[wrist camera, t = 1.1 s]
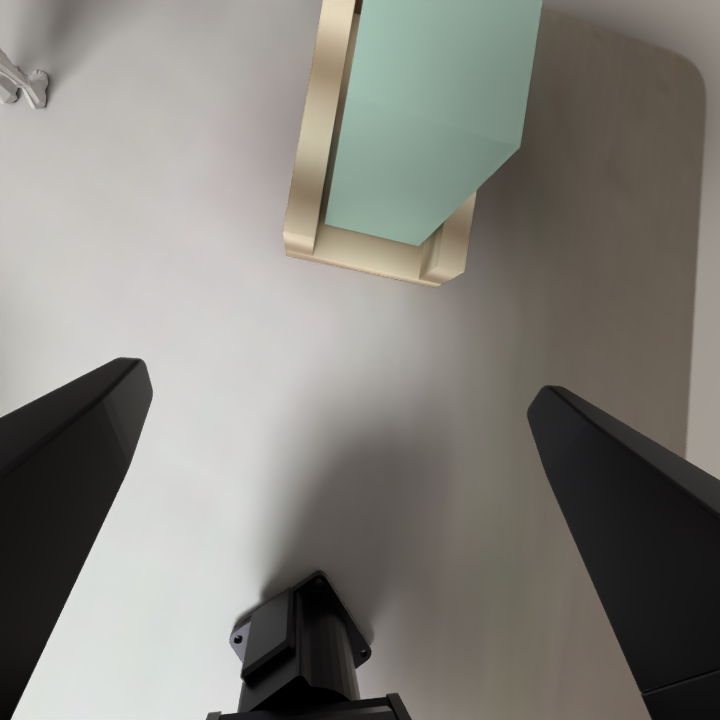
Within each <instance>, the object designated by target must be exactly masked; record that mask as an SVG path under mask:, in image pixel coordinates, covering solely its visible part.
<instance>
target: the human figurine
mask: <svg viewBox="0 0 720 720" xmlns="http://www.w3.org/2000/svg"><path fill="white" fill-rule="evenodd" d="M26 76H27V77H26ZM47 78H48V77H47V75H46V74H45V73H44V72H42V71H41V70H39V71H38V70H36V69H35V70H34V71H33V72H32V74H31V80H29V79H28V75H25V74H23V73H21V72H19V70H18V68H17V67H16V66H14V65H13V64H12V62H11V61H10V60H9V58H8V57H7V56H6V54H5V53H4V52H3V51H2V50H1V49H0V104H1V103H13V102H14V101H15V100H17V99H18V98H17V96H16V92H17V90H18V88H20V87H21V88H22V90H23V92H24V95H25V97H26V99H27V101H28V103H29V105H30V107H31V108H34V109H39V108H42V107H44V106H45V104H46V93H45V90H46V87H47V85H48V80H47ZM17 85H19V86H17Z"/></svg>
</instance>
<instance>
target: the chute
mask: <svg viewBox="0 0 720 720" xmlns="http://www.w3.org/2000/svg"><path fill="white" fill-rule="evenodd" d="M362 4H363V0H323V5H322V10H321V16H320V22H319V28H318V33H317V39H316V45H315V50H314V56H313V62H312V68H311V73H310V79H309V85H308V90H307V96H306V102H305V108H304V113H303V119H302V125H301V131H300V136H299V142H298V148H297V153H296V159H295V165H294V171H293V176H292V182H291V188H290V193H289V199H288V205H287V211H286V216H285V222H284V228H283V235H284V243H285V250H286V255H287V256H291V257H296V258H301V259H305V260H310V261H314V262H319V263H324V264H328V265H333V266H337V267H342V268H347V269H351V270H356V271H360V272H365V273H370V274H374V275H379V276H384V277H388V278H393V279H397V280H402V281H407V282H411V283H416V284H420V285H425V286H430V287H434V288H436V287H438V286H440V285H442V284H444V283H445V282H447V281H449V280H451V279H453V278H455V277H456V276H458V275H460V274H462V273H464V269H465V263H466V256H467V250H468V243H469V237H470V231H471V224H472V218H473V211H474V205H475V199H476V192H477V190H476V191H475V192H474V193H473V194H472V195H471V196H470V197H469V198H468V199H467V200H466V201H465V202H463V203H462V204H461V205H460V206H459V207H458V208H457V209H456V210H455V211H454V212H453V213H452V214H451V215H450V216H449V217H448V218H447V219H446V220H445V221H444V222H443V223H442V224H441V225H440V226H439V227H438V228H437V229H436V230H435V231H434V232H433V233H432V234H431V235H430V236H429V237H428V238H427V239H426V240H425V241H423V242H422V243H421V244H420V245H419V246H415V245H411V244H407V243H403V242H398V241H394V240H390V239H386V238H381V237H377V236H373V235H369V234H365V233H360V232H356V231H352V230H348V229H344V228H339V227H335V226H331V225H327V224H325V219H326V213H327V207H328V201H329V195H330V189H331V183H332V178H333V172H334V166H335V160H336V154H337V148H338V142H339V137H340V131H341V125H342V119H343V113H344V108H345V102H346V96H347V90H348V85H349V79H350V73H351V67H352V62H353V56H354V50H355V44H356V39H357V33H358V27H359V21H360V16H361V10H362Z"/></svg>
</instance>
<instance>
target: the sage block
mask: <svg viewBox="0 0 720 720" xmlns="http://www.w3.org/2000/svg"><path fill="white" fill-rule="evenodd" d="M541 7H542V0H363V4H362V10H361V16H360V21H359V27H358V33H357V39H356V44H355V50H354V56H353V62H352V67H351V73H350V79H349V85H348V90H347V96H346V102H345V108H344V113H343V119H342V125H341V131H340V137H339V142H338V148H337V154H336V160H335V166H334V172H333V178H332V183H331V189H330V195H329V201H328V207H327V213H326V219H325V224H327V225H331V226H335V227H339V228H344V229H348V230H352V231H356V232H360V233H365V234H369V235H373V236H377V237H381V238H386V239H390V240H394V241H398V242H403V243H407V244H411V245H415V246H419V245H420V244H421V243H422V242H423V241H425V240H426V239H427V238H428V237H429V236H430V235H431V234H432V233H433V232H434V231H435V230H436V229H437V228H438V227H439V226H440V225H441V224H442V223H443V222H444V221H445V220H446V219H447V218H448V217H449V216H450V215H451V214H452V213H453V212H454V211H455V210H456V209H457V208H458V207H459V206H460V205H461V204H462V203H463V202H465V201H466V200H467V199H468V198H469V197H470V196H471V195H472V194H473V193H474V192H475V191H476V190H477V189H478V188H479V187H480V186H481V185H482V184H483V183H484V182H485V181H486V180H487V179H488V178H489V177H490V176H491V175H492V174H493V173H494V172H495V171H496V170H497V169H498V168H499V167H500V166H501V165H502V164H504V163H505V162H506V161H507V160H508V159H509V158H510V157H511V156H512V155H513V154H514V153H515V152H516V151H517V150H518V149H519V148H520V145H521V138H522V132H523V125H524V119H525V112H526V105H527V99H528V92H529V86H530V79H531V73H532V66H533V59H534V53H535V46H536V40H537V33H538V27H539V20H540V14H541Z"/></svg>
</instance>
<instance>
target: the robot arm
mask: <svg viewBox="0 0 720 720" xmlns="http://www.w3.org/2000/svg"><path fill="white" fill-rule="evenodd" d="M152 397H153V389H152V385H151V381H150V378H149V374H148V371H147V367H146V364H145V362H144V361H143V360H142V359H140V358H127V357H120V358H117V359H114V360H112V361H110V362H108V363H107V364H105V365H103V366H101V367H99V368H97V369H95V370H93V371H91V372H89V373H87V374H85V375H83V376H81V377H79V378H77V379H75V380H73V381H71V382H69V383H67V384H65V385H64V386H62V387H60V388H58V389H56V390H54V391H52V392H50V393H48V394H46V395H44V396H42V397H40V398H38V399H36V400H34V401H32V402H30V403H28V404H26V405H24V406H23V407H21V408H19V409H17V410H15V411H13V412H11V413H9V414H7V415H5V416H3V417H1V418H0V720H11V718H12V716H13V714H14V711H15V709H16V707H17V705H18V703H19V701H20V699H21V697H22V695H23V692H24V690H25V688H26V686H27V684H28V682H29V680H30V678H31V675H32V673H33V671H34V669H35V667H36V665H37V663H38V661H39V658H40V656H41V654H42V652H43V650H44V648H45V646H46V644H47V641H48V639H49V637H50V635H51V633H52V631H53V629H54V627H55V625H56V622H57V620H58V618H59V616H60V614H61V612H62V610H63V608H64V605H65V603H66V601H67V599H68V597H69V595H70V593H71V591H72V588H73V586H74V584H75V582H76V580H77V578H78V576H79V574H80V571H81V569H82V567H83V565H84V563H85V561H86V559H87V557H88V554H89V552H90V550H91V548H92V546H93V544H94V542H95V540H96V538H97V535H98V533H99V531H100V529H101V527H102V525H103V523H104V521H105V518H106V516H107V514H108V512H109V510H110V508H111V506H112V504H113V501H114V499H115V497H116V495H117V493H118V491H119V489H120V487H121V484H122V482H123V480H124V478H125V476H126V474H127V471H128V469H129V467H130V464H131V461H132V458H133V456H134V453H135V450H136V447H137V444H138V440H139V437H140V434H141V431H142V428H143V425H144V422H145V419H146V416H147V413H148V410H149V407H150V404H151V401H152ZM527 418H528V421H529V424H530V428H531V431H532V434H533V437H534V440H535V443H536V446H537V449H538V452H539V455H540V459H541V462H542V465H543V468H544V470H545V473H546V476H547V478H548V481H549V483H550V485H551V488H552V490H553V492H554V495H555V497H556V499H557V502H558V504H559V506H560V508H561V511H562V513H563V515H564V518H565V520H566V522H567V525H568V527H569V529H570V532H571V534H572V536H573V538H574V541H575V543H576V545H577V548H578V550H579V552H580V555H581V557H582V559H583V562H584V564H585V566H586V568H587V571H588V573H589V575H590V578H591V580H592V582H593V585H594V587H595V589H596V591H597V594H598V596H599V598H600V601H601V603H602V605H603V608H604V610H605V612H606V615H607V617H608V619H609V621H610V624H611V626H612V628H613V631H614V633H615V635H616V638H617V640H618V642H619V645H620V647H621V649H622V651H623V654H624V656H625V658H626V661H627V663H628V665H629V668H630V670H631V672H632V674H633V677H634V679H635V681H636V684H637V686H638V688H639V690H640V692H642V693H641V696H642V698H643V701H644V703H645V705H646V708H647V710H648V712H649V715H650V717H651V719H652V720H720V480H718V479H717V478H715V477H713V476H712V475H710V474H708V473H706V472H705V471H703V470H702V469H700V468H698V467H697V466H695V465H693V464H691V463H690V462H688V461H687V460H685V459H683V458H682V457H680V456H678V455H676V454H675V453H673V452H671V451H670V450H668V449H666V448H665V447H663V446H661V445H660V444H658V443H656V442H655V441H653V440H651V439H650V438H648V437H646V436H645V435H643V434H641V433H640V432H638V431H636V430H634V429H633V428H631V427H629V426H628V425H626V424H624V423H623V422H621V421H619V420H618V419H616V418H614V417H613V416H611V415H609V414H608V413H606V412H604V411H603V410H601V409H599V408H598V407H596V406H594V405H592V404H591V403H589V402H587V401H586V400H584V399H582V398H581V397H579V396H577V395H576V394H574V393H572V392H571V391H569V390H567V389H566V388H564V387H561V386H551V385H546V386H544V387H542V388H541V389H540V391H539V392H538V394H537V395H536V397H535V398H534V400H533V401H532V403H531V405H530V406H529V408H528V411H527ZM317 579H322V582H320V583H316V582H315V581H316V580H317ZM238 635H241V636H242V638H240V639H239V638H236V636H238ZM229 642H230V645H231V646H232V648H233V649H234V651H235V652H236V654H237V655H238V657H239V658H240V660H241V661H242V663H243V664H242V669H241V675H240V677H241V679H242V681H243V683H242V688H241V694H240V699H239V705H238V710H237V713H232V714H223V715H221V711H220V712H211V713H208V716H207V718H206V720H412V719H411V717H410V716H409V714H408V712H407V710H406V708H405V706H404V704H403V702H402V700H401V698H400V696H399V694H398V693H391V694H387V695H386V697H382V698H372V699H363V700H361V699H360V693H359V687H358V682H357V676H356V671H355V669H356V668H358V667H359V666H360V665H362V664H363V663H364V662H366V661H367V660H368V659H369V658H370V656H371V647H370V644H369V642H368V641H367V639H366V637H365V636H364V634H363V633H362V631H361V629H360V628H359V626H358V625H357V623H356V621H355V620H354V618H353V617H352V615H351V614H350V612H349V610H348V609H347V607H346V606H345V604H344V602H343V601H342V599H341V598H340V596H339V594H338V593H337V591H336V590H335V588H334V586H333V585H332V583H331V582H330V580H329V579H328V577H327V575H326V574H325V573H324V572H322V571H317V572H315V573H313V574H312V575H310V576H309V577H307V578H306V579H304V580H303V581H302V582H300V583H299V584H297V585H296V586H294V587H293V588H288V589H286V590H285V591H283V592H282V593H280V594H279V595H278V596H276V597H275V598H273V599H272V600H270V601H269V602H267V603H266V604H264V605H263V606H262V607H260V608H259V609H257V610H256V611H254V612H253V614H252V616H251V617H250V618H248V619H247V620H245V621H244V622H242V623H241V624H240V625H238V626H237V627H235V628H234V629H233V630H232V632H231V635H230V641H229ZM362 650H365V652H361V651H362Z"/></svg>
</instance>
